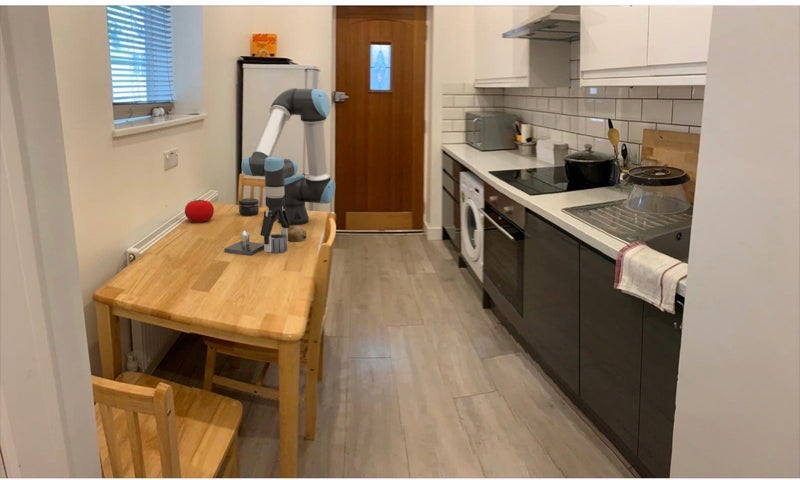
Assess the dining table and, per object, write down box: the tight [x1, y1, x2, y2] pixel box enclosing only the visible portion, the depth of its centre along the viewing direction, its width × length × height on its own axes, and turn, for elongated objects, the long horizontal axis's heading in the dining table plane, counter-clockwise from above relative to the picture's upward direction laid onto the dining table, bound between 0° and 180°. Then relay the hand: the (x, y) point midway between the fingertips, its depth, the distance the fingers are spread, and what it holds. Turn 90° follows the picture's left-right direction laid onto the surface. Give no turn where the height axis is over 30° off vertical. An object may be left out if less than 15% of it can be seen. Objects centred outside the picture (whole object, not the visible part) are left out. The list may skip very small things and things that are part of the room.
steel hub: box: [267, 233, 288, 254], centre depth 223 cm, size 8×8×6 cm
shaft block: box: [223, 229, 264, 256], centre depth 222 cm, size 12×12×8 cm
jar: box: [238, 197, 260, 217], centre depth 281 cm, size 10×10×8 cm
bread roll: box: [287, 225, 308, 243], centre depth 240 cm, size 10×10×8 cm
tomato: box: [184, 199, 215, 223], centre depth 265 cm, size 14×13×10 cm
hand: (276, 247), depth 223 cm, fingers open, 13 cm apart
